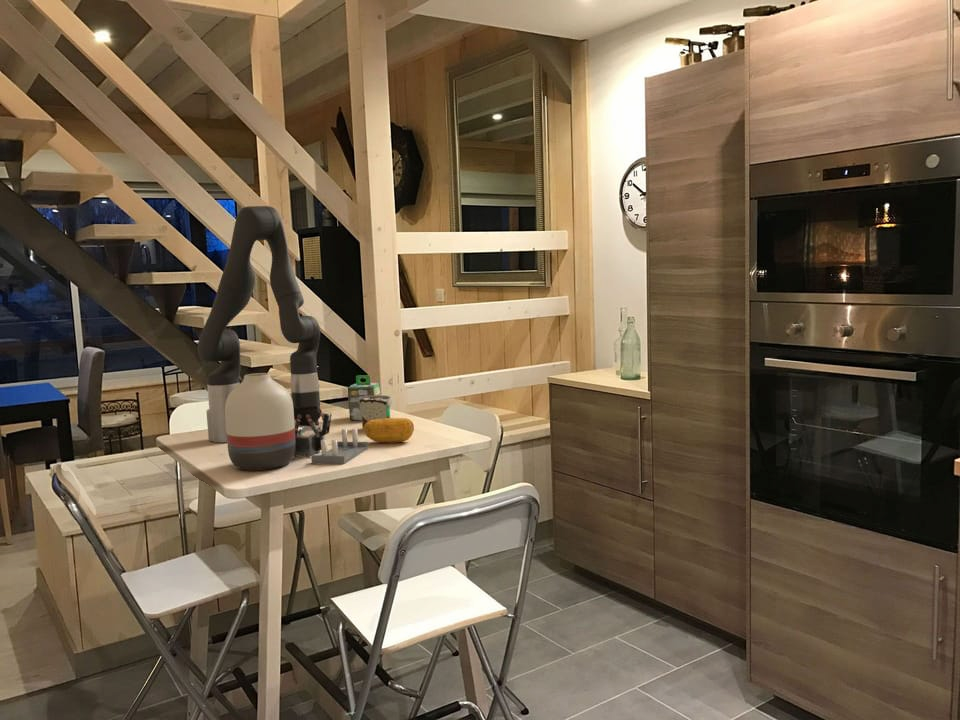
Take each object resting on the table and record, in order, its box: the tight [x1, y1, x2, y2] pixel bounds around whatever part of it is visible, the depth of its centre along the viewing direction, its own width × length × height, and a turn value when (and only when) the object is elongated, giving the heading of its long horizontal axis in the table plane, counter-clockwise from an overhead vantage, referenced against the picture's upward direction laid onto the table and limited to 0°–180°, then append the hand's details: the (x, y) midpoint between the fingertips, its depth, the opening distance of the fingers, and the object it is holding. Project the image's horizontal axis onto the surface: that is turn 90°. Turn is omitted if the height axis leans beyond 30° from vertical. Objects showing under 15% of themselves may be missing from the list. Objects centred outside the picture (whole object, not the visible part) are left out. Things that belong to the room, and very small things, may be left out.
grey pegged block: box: [310, 428, 369, 465], centre depth 207 cm, size 9×17×6 cm, turn 168°
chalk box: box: [347, 374, 381, 421], centre depth 261 cm, size 9×9×15 cm
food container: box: [358, 394, 394, 430], centre depth 243 cm, size 12×6×10 cm, turn 58°
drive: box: [293, 430, 326, 457], centre depth 213 cm, size 5×10×5 cm, turn 168°
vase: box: [225, 372, 296, 471], centre depth 199 cm, size 17×17×24 cm
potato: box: [363, 417, 415, 444], centre depth 222 cm, size 7×14×7 cm, turn 81°
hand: (309, 449), depth 213 cm, fingers closed on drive, 5 cm apart
